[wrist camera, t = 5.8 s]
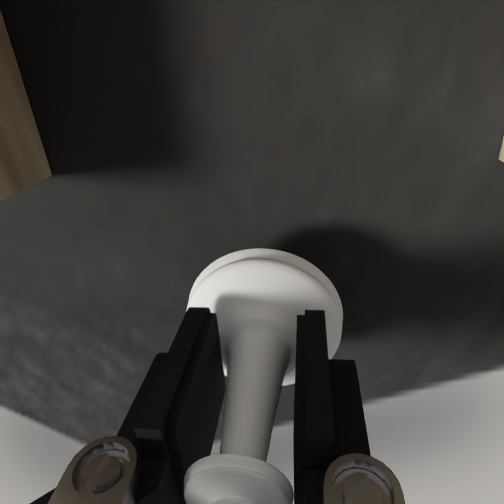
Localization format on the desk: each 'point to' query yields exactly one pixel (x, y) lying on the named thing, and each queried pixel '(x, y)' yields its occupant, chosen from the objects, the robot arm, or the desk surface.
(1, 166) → the open-side wooden frame
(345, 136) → the desk surface
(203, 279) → the chess piece
